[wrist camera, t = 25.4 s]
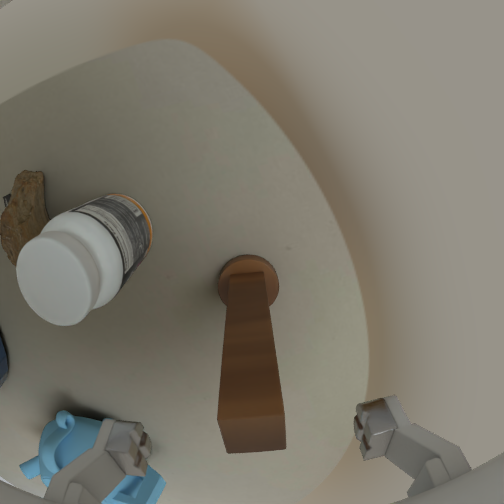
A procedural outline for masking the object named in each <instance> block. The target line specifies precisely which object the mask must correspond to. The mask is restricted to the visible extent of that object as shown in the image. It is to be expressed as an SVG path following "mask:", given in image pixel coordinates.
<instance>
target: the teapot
mask: <svg viewBox="0 0 504 504" xmlns="http://www.w3.org/2000/svg"><path fill="white" fill-rule="evenodd" d="M105 419H111V418H104V419H103V421H104V420H105ZM112 420H113V419H112ZM103 421H102V422H101V421H98V420H94V419H90V418H86V417H79V416H74V415H71V414H70V413H69V412H67V411H65V410H62V411H59V412H58V413H57V415H56V420H53V421H51V422H49V423H48V424H47V425H46V426H45V428H44V430H43V432H42V435H41V439H40V443H39V455H38V456H36V457H34V458H32V459H30V460H28V461H27V462H25V463H23V464H21V465H19V466H20V469H21V470H22V472H23V473H24V475H25V476H26V477H27V478H28V479H32V478H34V477H36V476H38V475H41V480H42V481H43V483H44V484H45V485H46V486H47V487H48V486H49V483H50V481H51V478H52V476H53V475H54V474H55V473H57V472H58V471H60V470H61V469H62V468H64V467H65V466H66V465H68V464H69V463H70V462H72V461H73V460H75V459H76V458H77V457H79V456H80V455H81V454H83V453H84V452H85V451H86V450H88V449H89V448H93V446H94V443H95V441H96V438H97V435H98V433H99V430H100V428H101V425H102V423H103ZM165 485H166V482H165V481H164V479H163V478H162V477H161V475H159V474H158V473H157V472H156V471H155V470H154V469H152V468H151V467H150V466H149V465H148V467H147V471H146V476H145V477H143V476H132V475H126V477H125V478H124V479H123V480H122V481H121V482H120V483H119V484H118V485H117V486H116V487H115V489H114V490H113V491H112V492H111V493H110V494H109V495H108V496H107V497H106V498H105V499H104V500H103V501H102V502H101V503H102V504H156V502H157V500H158V498H159V497H160V495H161V493H162V491H163V489H164V487H165Z"/></svg>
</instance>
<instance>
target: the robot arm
mask: <svg viewBox="0 0 504 504" xmlns="http://www.w3.org/2000/svg"><path fill="white" fill-rule="evenodd" d="M356 412H357V415H356V416H355V417H354V432H355V436H356V438H357V439H358V440H359V441H361V444H360V450H361V453H362V456H363V459H364V460H369V459H373V458H377V457H381V456H385V457H386V458H387V459H389V460H390V461H391V462H392V463H394V464H395V465H396V466H397V467H399V468H400V469H402V470H403V471H404V472H405V473H407V474H408V475H409V476H411V477H412V478H414V479H415V481H414V482H413V484H412V485H411V487H410V488H409V490H408V491H407V494H408V497H409V498H406V499H403V500H401V501H397V502H394V503H391V504H504V452H503V453H501V454H500V455H498V456H496V457H495V458H493V459H491V460H489V461H488V462H486V463H484V464H482V465H480V466H479V467H477V468H475V469H473V470H472V469H471V467H470V465H469V464H468V462H467V460H466V458H465V456H464V455H463V453H462V451H461V449H460V447H458V446H457V445H455V444H453V443H451V442H449V441H447V440H445V439H443V438H441V437H439V436H437V435H436V434H434V433H431V432H430V431H428V430H426V429H424V428H422V427H421V426H419V425H417V424H415V423H414V424H411V423H410V421H409V419H408V417H407V415H406V413H405V411H404V409H403V407H402V406H401V403H400V402H399V400H398V398H397V396H395V395H392V396H388V397H384V398H379V399H375V400H371V401H367V402H363V403H359V404H357V406H356ZM143 429H144V427H143V425H142V423H141V422H132V421H121V420H112V419H105V420H104V421H103V423H102V425H101V428H100V430H99V433H98V435H97V438H96V441H95V443H94V446H93V448H89V449H88V450H86V451H85V452H84V453H83V454H81V455H80V456H79V457H77V458H76V459H75V460H73V461H72V462H70V463H69V464H68V465H66V466H65V467H64V468H62V469H61V470H60V471H58V472H57V473H55V474H54V475H53V476H52V478H51V481H50V483H49V486H48V488H47V491H46V493H45V496H44V498H41V497H39V496H36V495H33V494H31V493H28V492H26V491H23V490H21V489H19V488H16V487H14V486H12V485H10V484H7V483H5V482H3V481H1V480H0V504H102V503H101V502H102V501H103V500H104V499H105V498H106V497H107V496H108V495H109V494H110V493H111V492H112V491H113V490H114V489H115V487H116V486H117V485H118V484H119V483H120V482H121V481H122V480H123V479H124V478H125V477H126V475H132V476H143V477H145V476H146V471H147V467H148V463H147V461H146V458H147V457H149V456H150V453H151V441H150V437H149V436H148V434H147V433H145V432H144V431H143Z"/></svg>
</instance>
